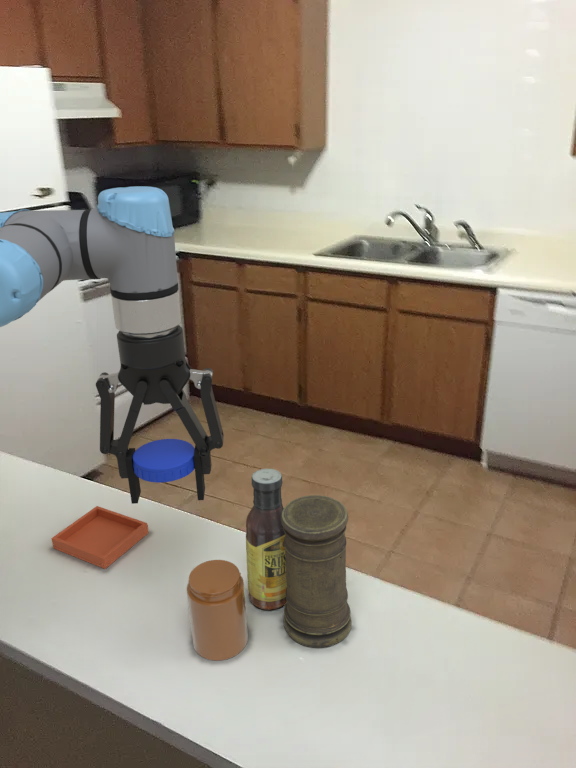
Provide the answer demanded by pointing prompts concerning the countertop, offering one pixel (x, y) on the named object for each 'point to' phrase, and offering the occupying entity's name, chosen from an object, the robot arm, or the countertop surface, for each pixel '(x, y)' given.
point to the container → (316, 571)
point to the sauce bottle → (266, 542)
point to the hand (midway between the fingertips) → (169, 495)
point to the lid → (164, 460)
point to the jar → (217, 610)
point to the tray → (100, 536)
